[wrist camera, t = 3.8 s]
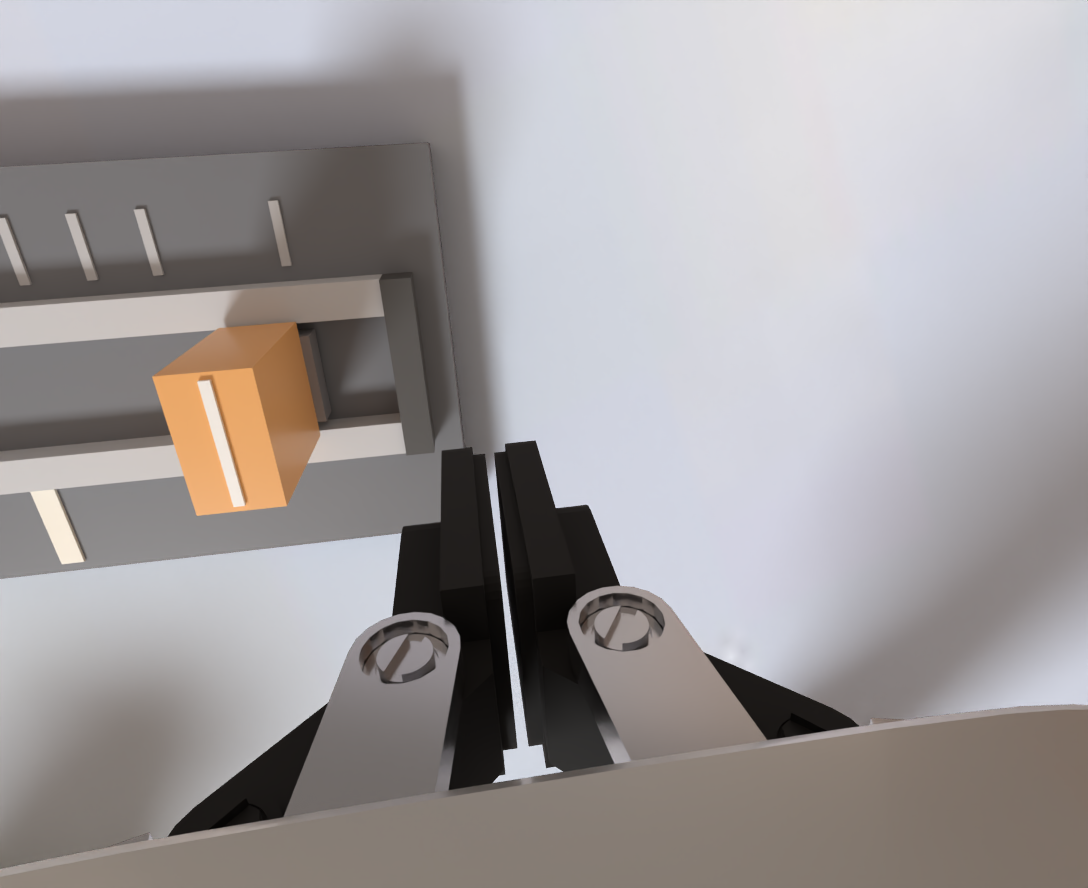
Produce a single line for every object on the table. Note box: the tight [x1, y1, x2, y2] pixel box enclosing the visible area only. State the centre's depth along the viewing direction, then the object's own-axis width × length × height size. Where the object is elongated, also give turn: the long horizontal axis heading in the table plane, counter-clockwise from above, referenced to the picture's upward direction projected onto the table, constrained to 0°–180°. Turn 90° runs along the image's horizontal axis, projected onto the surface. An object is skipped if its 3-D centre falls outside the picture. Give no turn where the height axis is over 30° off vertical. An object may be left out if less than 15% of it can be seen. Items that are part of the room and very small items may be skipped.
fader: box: [152, 322, 331, 516], centre depth 20 cm, size 3×4×6 cm
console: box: [0, 143, 465, 579], centre depth 22 cm, size 22×14×3 cm, turn 93°
